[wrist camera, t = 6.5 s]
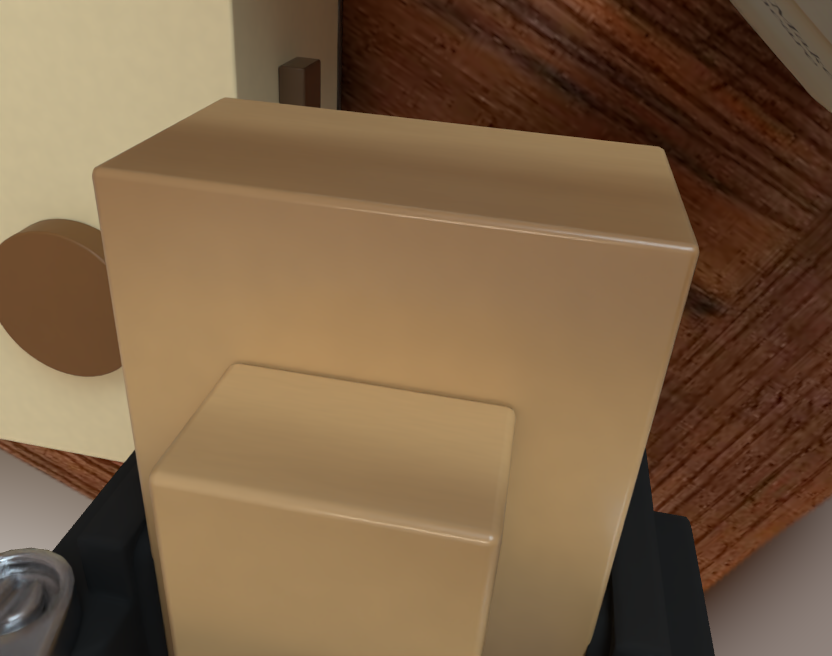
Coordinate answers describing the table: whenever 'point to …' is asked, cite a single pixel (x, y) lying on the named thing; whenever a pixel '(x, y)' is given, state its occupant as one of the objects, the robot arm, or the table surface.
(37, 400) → the bread box
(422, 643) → the brush
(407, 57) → the table surface
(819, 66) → the cosmetic box
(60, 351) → the brown disc
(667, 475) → the table surface
